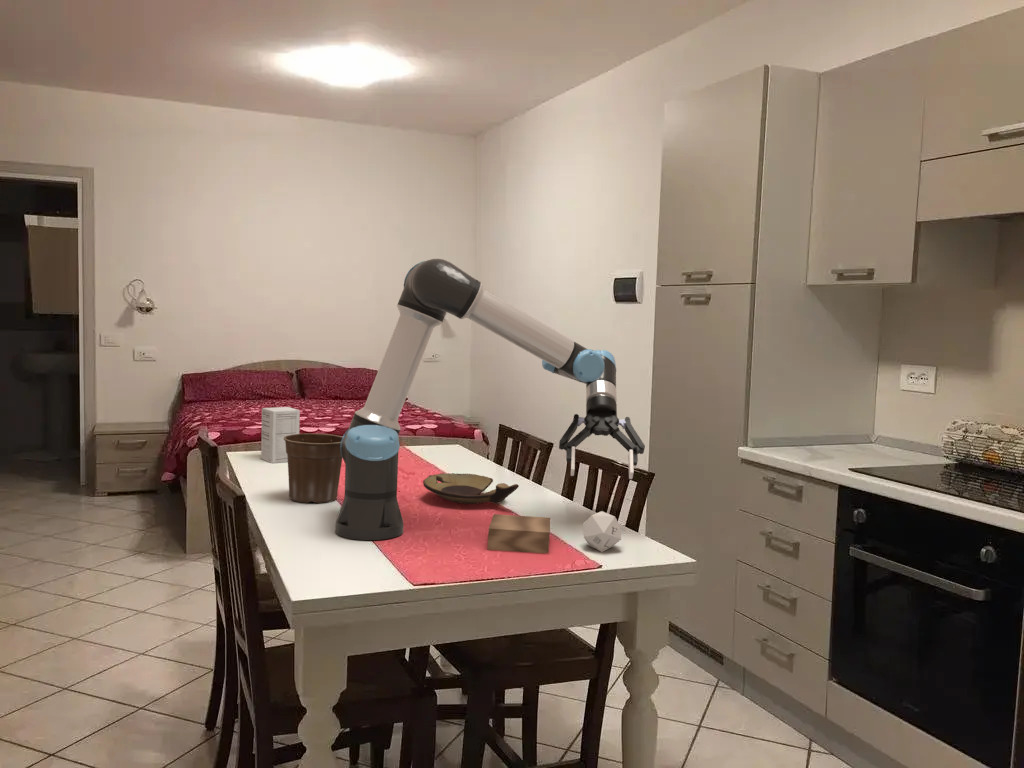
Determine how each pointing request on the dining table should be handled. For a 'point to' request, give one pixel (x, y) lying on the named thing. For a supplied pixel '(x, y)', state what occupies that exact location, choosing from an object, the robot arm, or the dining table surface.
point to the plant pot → (313, 467)
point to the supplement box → (277, 432)
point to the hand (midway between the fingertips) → (601, 474)
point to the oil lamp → (467, 488)
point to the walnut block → (519, 533)
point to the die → (601, 531)
